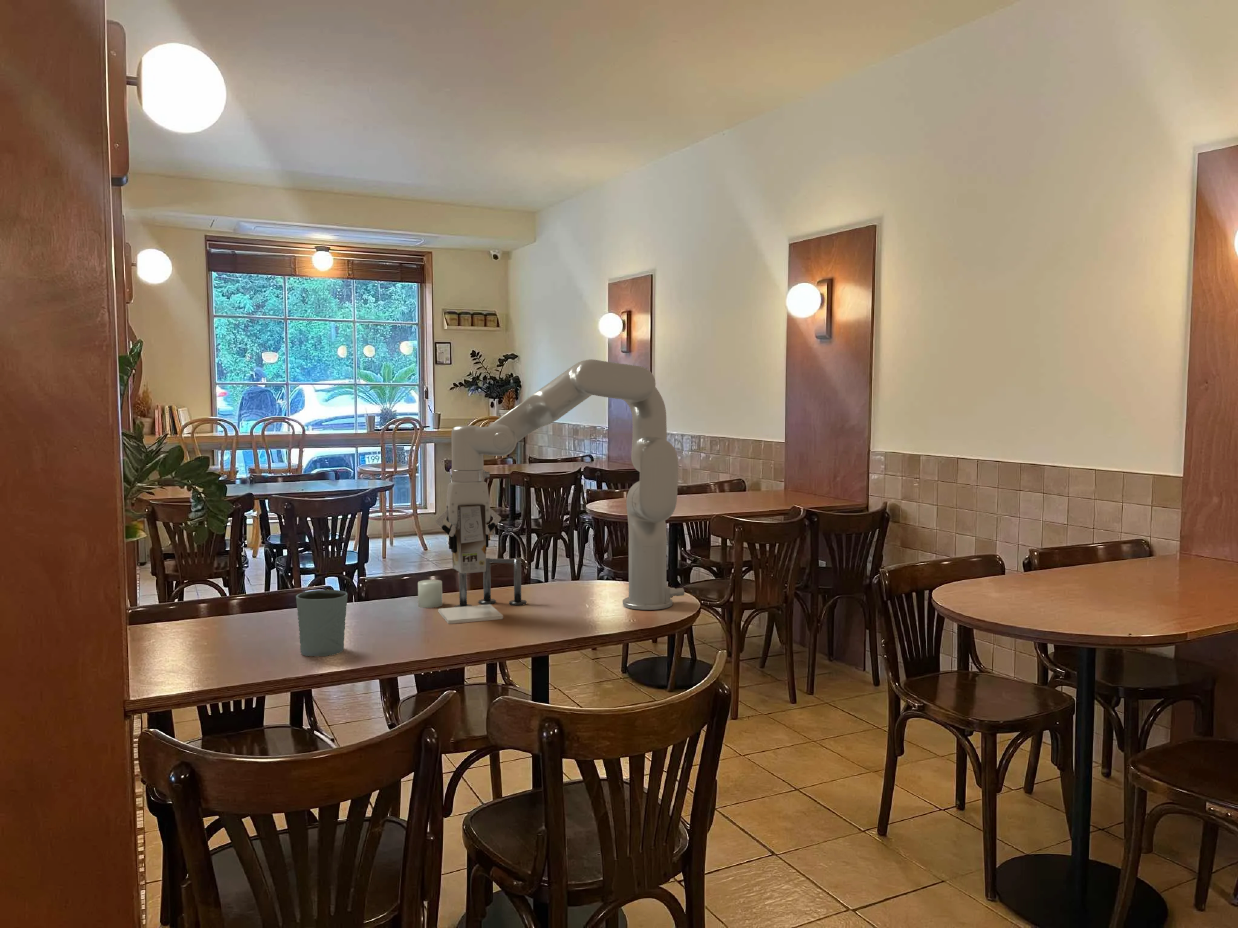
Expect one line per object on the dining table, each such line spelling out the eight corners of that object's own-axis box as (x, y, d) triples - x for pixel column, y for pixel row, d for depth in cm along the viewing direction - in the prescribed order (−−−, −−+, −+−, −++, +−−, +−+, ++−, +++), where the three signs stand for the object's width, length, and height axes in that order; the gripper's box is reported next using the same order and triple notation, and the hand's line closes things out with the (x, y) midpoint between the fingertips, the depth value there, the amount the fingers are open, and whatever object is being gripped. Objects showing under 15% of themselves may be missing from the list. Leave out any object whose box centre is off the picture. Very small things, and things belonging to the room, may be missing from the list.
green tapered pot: (289, 651, 192) (287, 594, 191) (334, 642, 199) (332, 587, 198) (311, 660, 185) (310, 601, 184) (357, 650, 192) (356, 593, 191)
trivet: (490, 607, 231) (490, 604, 231) (502, 618, 219) (502, 615, 219) (438, 611, 227) (438, 608, 227) (448, 623, 215) (448, 620, 214)
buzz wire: (519, 598, 242) (519, 554, 241) (528, 604, 234) (528, 559, 233) (449, 604, 235) (449, 559, 235) (456, 611, 228) (455, 564, 227)
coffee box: (487, 571, 219) (486, 504, 218) (461, 574, 217) (460, 506, 216) (476, 565, 228) (475, 501, 227) (451, 567, 225) (450, 502, 224)
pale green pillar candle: (440, 601, 238) (439, 579, 238) (444, 606, 233) (444, 583, 232) (416, 603, 236) (416, 580, 236) (420, 608, 231) (419, 585, 230)
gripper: (499, 474, 227) (500, 546, 228) (428, 477, 221) (429, 551, 222) (507, 477, 220) (507, 551, 221) (434, 479, 214) (435, 555, 215)
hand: (468, 550), depth 222 cm, fingers closed on coffee box, 6 cm apart
